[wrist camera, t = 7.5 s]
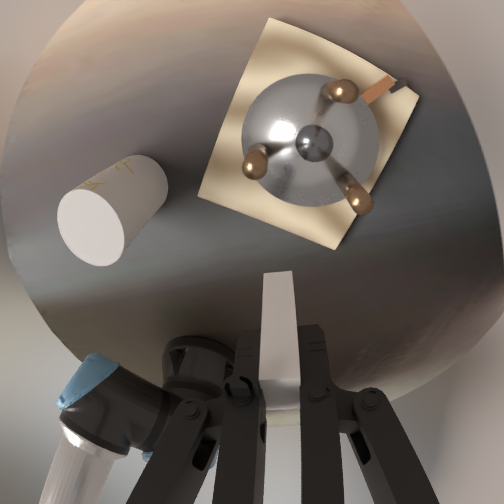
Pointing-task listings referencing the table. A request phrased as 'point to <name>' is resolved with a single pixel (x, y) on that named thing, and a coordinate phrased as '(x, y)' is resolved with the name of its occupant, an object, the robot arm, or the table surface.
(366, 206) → the capstan wheel
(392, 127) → the base board
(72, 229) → the cup
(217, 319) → the table surface
